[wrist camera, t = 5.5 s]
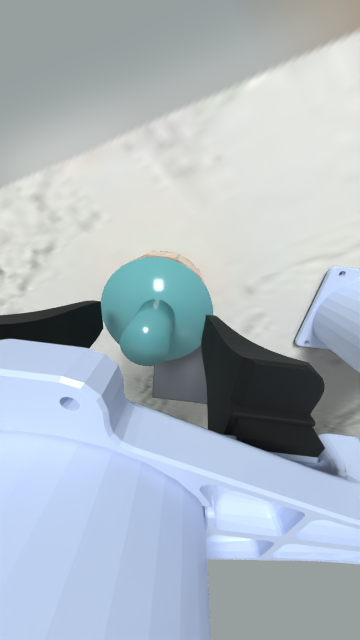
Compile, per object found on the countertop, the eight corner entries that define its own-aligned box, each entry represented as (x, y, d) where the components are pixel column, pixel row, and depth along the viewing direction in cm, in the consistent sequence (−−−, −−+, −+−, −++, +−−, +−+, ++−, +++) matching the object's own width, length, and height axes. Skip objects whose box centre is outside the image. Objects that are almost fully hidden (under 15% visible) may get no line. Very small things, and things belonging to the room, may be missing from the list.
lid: (224, 268, 12) (243, 286, 8) (199, 362, 16) (202, 408, 12) (103, 246, 12) (56, 252, 8) (106, 346, 16) (76, 388, 12)
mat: (237, 347, 19) (238, 349, 19) (220, 402, 23) (220, 405, 23) (156, 337, 19) (155, 339, 19) (153, 394, 23) (152, 397, 23)
